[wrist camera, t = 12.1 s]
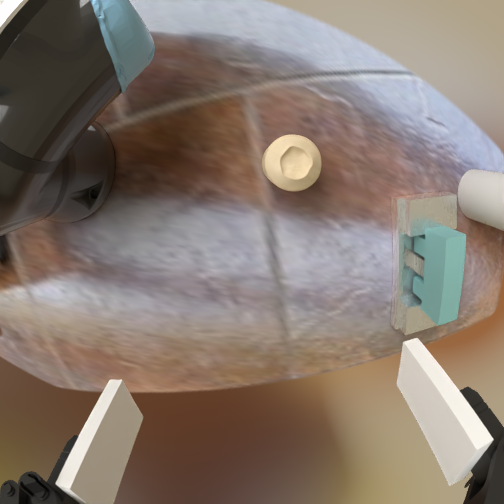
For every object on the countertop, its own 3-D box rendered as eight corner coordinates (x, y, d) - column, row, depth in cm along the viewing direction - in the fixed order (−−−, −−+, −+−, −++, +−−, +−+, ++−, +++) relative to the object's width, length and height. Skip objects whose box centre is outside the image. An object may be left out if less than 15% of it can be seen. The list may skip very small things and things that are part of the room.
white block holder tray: (390, 196, 35) (404, 200, 32) (444, 191, 35) (460, 194, 31) (390, 323, 41) (400, 336, 37) (439, 309, 41) (451, 320, 37)
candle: (258, 144, 34) (261, 135, 24) (303, 140, 33) (322, 131, 24) (264, 187, 35) (268, 195, 26) (307, 183, 35) (328, 190, 26)
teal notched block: (414, 224, 35) (446, 238, 28) (432, 221, 35) (466, 234, 28) (411, 300, 39) (437, 325, 31) (429, 295, 39) (456, 319, 31)
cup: (465, 227, 37) (515, 249, 25) (452, 181, 34) (506, 192, 23) (493, 205, 35) (541, 221, 24) (481, 161, 33) (533, 168, 22)
